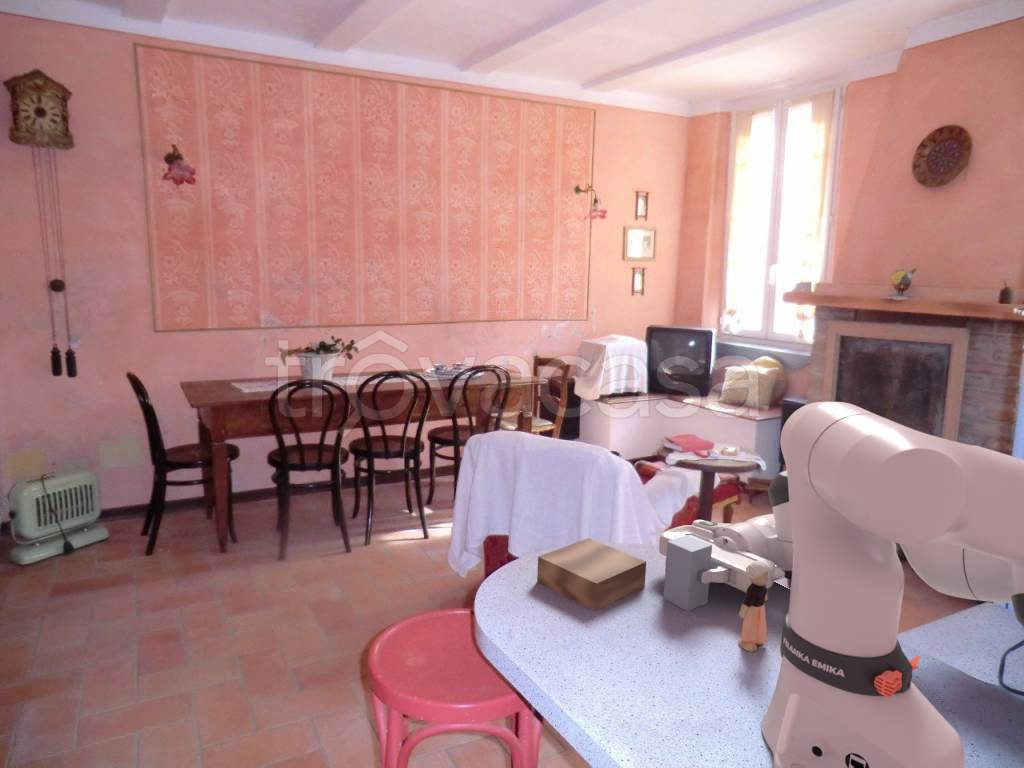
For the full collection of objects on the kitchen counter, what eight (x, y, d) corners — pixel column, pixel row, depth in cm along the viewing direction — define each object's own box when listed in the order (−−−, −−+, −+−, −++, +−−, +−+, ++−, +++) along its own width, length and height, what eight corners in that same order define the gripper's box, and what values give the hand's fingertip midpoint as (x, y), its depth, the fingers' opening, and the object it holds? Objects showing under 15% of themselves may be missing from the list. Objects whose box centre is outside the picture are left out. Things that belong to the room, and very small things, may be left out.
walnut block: (644, 588, 117) (646, 561, 117) (594, 613, 109) (596, 583, 108) (587, 563, 127) (588, 538, 126) (537, 583, 118) (538, 556, 117)
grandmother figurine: (759, 658, 96) (767, 574, 94) (732, 650, 98) (739, 566, 96) (772, 635, 103) (780, 555, 101) (746, 627, 105) (753, 549, 103)
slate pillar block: (707, 602, 112) (712, 545, 111) (687, 611, 109) (692, 552, 108) (683, 590, 116) (687, 534, 115) (663, 598, 113) (667, 541, 112)
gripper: (788, 591, 112) (737, 615, 104) (688, 548, 128) (637, 566, 120) (792, 554, 111) (741, 575, 103) (690, 516, 127) (639, 531, 119)
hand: (684, 570), depth 111 cm, fingers closed on slate pillar block, 5 cm apart
